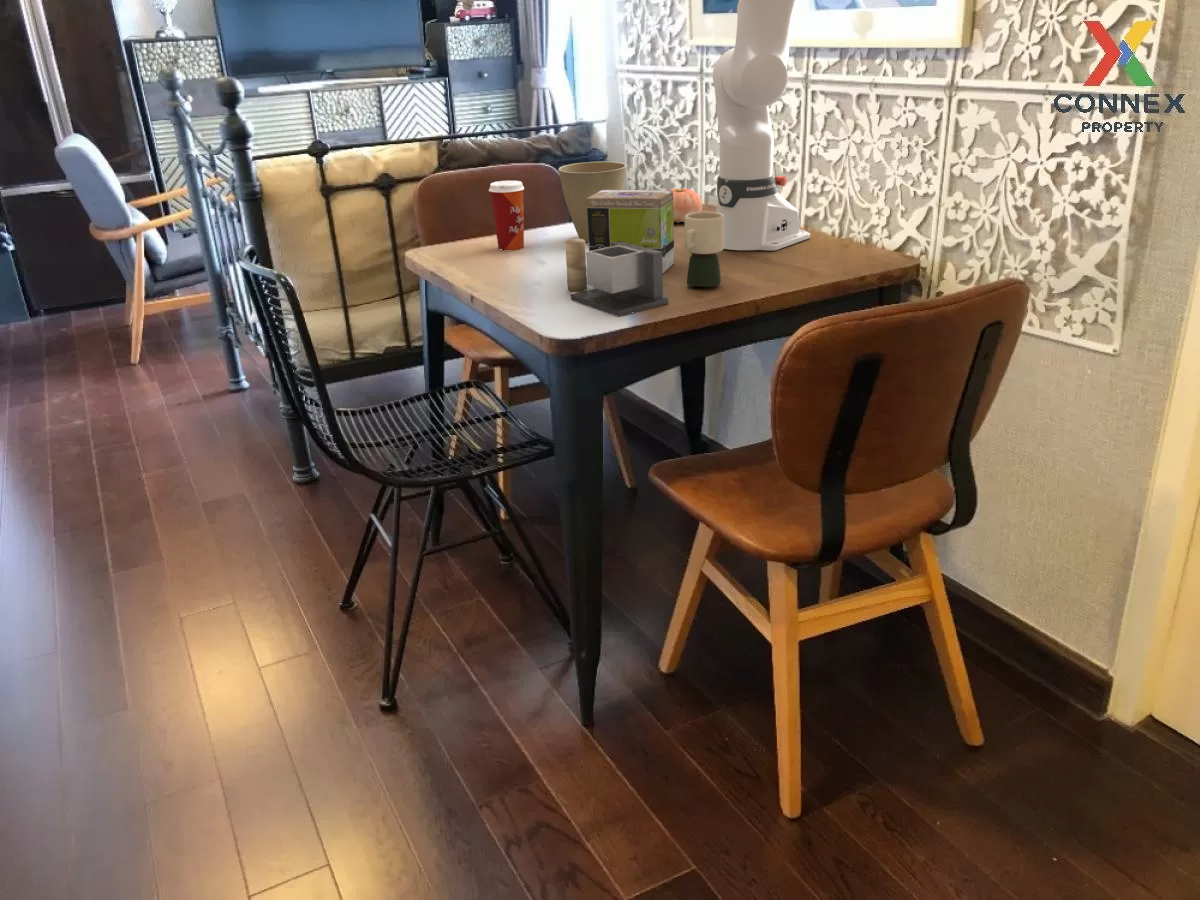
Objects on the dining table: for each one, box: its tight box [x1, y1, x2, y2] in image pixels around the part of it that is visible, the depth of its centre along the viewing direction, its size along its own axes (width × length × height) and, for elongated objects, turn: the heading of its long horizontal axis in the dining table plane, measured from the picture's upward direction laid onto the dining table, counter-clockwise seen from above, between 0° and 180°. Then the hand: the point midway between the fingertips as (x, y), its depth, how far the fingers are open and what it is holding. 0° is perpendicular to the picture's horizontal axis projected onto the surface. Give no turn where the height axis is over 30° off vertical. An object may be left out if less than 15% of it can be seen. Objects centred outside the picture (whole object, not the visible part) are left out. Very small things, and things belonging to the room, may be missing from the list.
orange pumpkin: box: [669, 187, 703, 224], centre depth 223 cm, size 11×11×8 cm
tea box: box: [586, 189, 675, 274], centre depth 183 cm, size 15×10×15 cm
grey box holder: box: [570, 241, 669, 317], centre depth 163 cm, size 11×14×9 cm
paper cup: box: [488, 180, 525, 251], centre depth 203 cm, size 8×8×14 cm
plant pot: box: [558, 161, 627, 244], centre depth 207 cm, size 15×15×16 cm
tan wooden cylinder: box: [564, 238, 588, 293], centre depth 172 cm, size 4×4×9 cm
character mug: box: [683, 211, 724, 288], centre depth 169 cm, size 11×7×13 cm, turn 140°
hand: (463, 5), depth 173 cm, fingers open, 8 cm apart
